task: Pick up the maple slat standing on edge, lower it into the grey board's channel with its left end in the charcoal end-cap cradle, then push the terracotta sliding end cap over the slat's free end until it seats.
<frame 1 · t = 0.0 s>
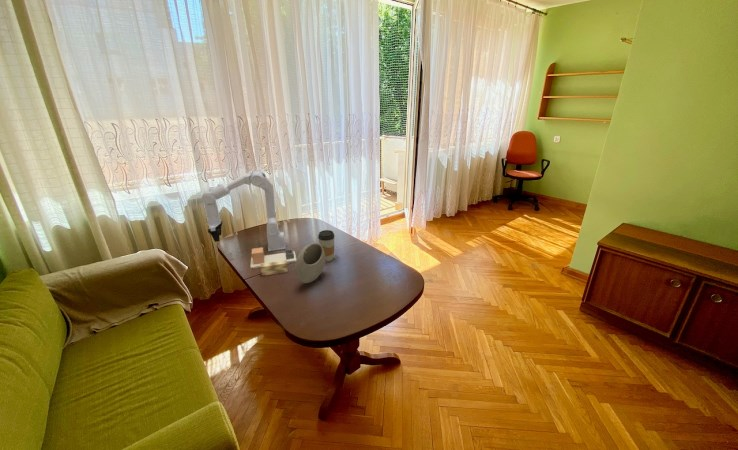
hand: (218, 238, 156), 10 cm above the table, fingers open, 7 cm apart
planter: (312, 280, 138), on the table
coffee cup: (327, 259, 157), on the table
sliding end cap: (258, 255, 151), point 4 cm above the table, slide at 5.0 cm
slat: (275, 272, 145), on the table
cap board: (276, 260, 155), on the table
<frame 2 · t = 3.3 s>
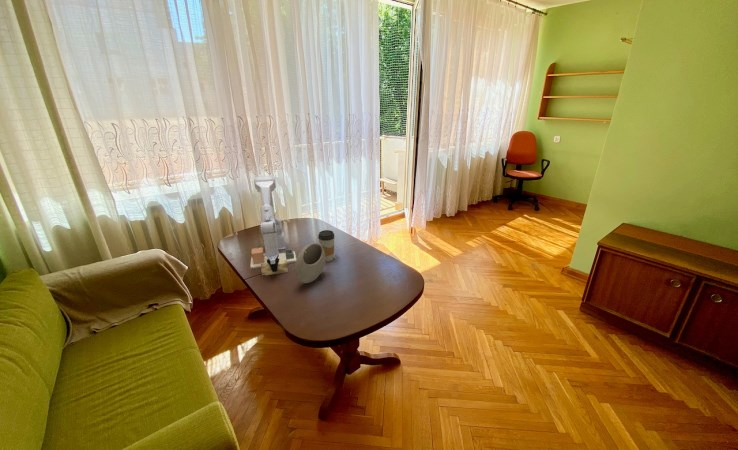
hand: (274, 269, 144), 1 cm above the table, fingers closed on slat, 3 cm apart
slat: (275, 272, 145), on the table, touching gripper
everything else where it was.
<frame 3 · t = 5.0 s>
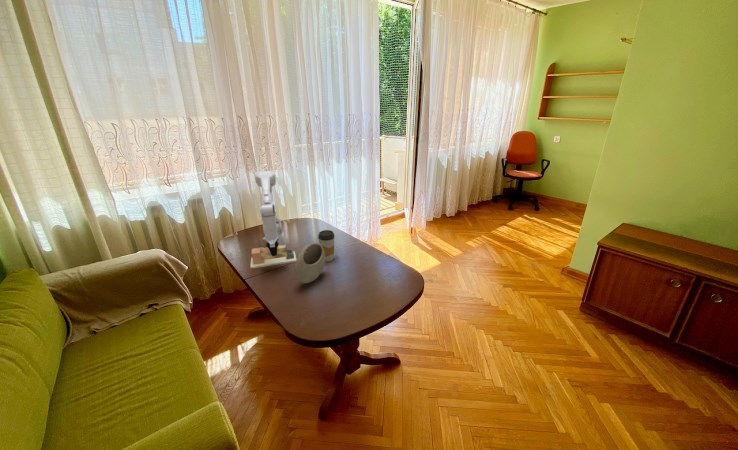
hand: (274, 253, 144), 8 cm above the table, fingers closed on slat, 3 cm apart
slat: (274, 256, 145), point 7 cm above the table, touching gripper
everything else where it was.
when the fingers open (4 cm above the table, at t = 6.7 s): slat stays where it is, resting on cap board.
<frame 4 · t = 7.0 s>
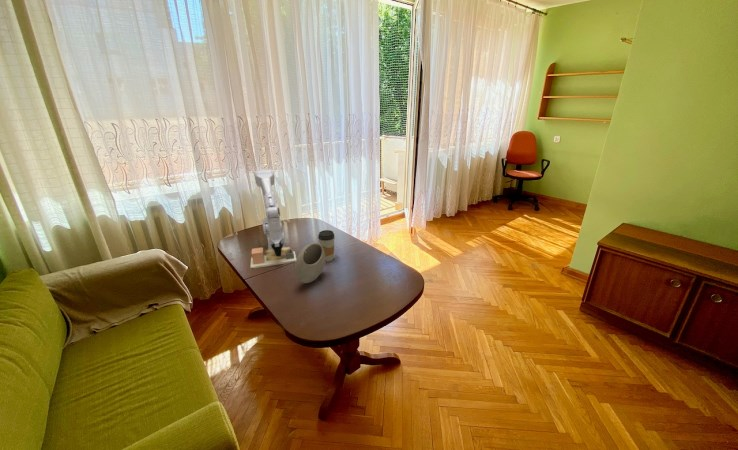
hand: (278, 253, 154), 4 cm above the table, fingers open, 6 cm apart
slat: (279, 258, 155), point 1 cm above the table, touching cap board
everything else where it was.
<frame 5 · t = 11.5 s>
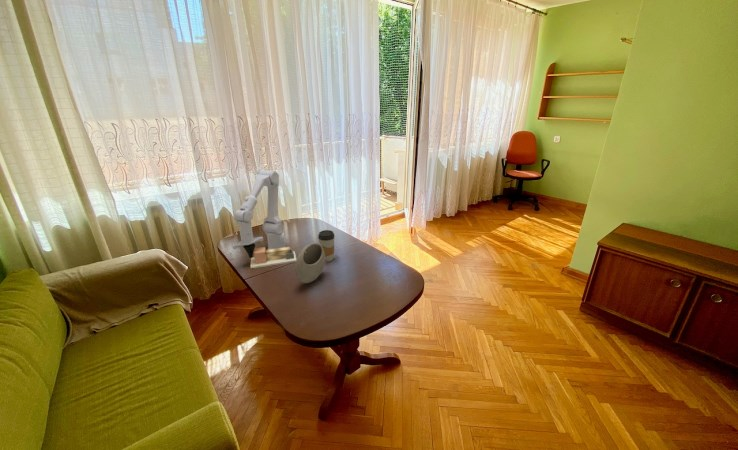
hand: (250, 257, 150), 4 cm above the table, fingers closed
sliding end cap: (260, 255, 152), point 4 cm above the table, slide at 3.9 cm, touching gripper
everything else where it was.
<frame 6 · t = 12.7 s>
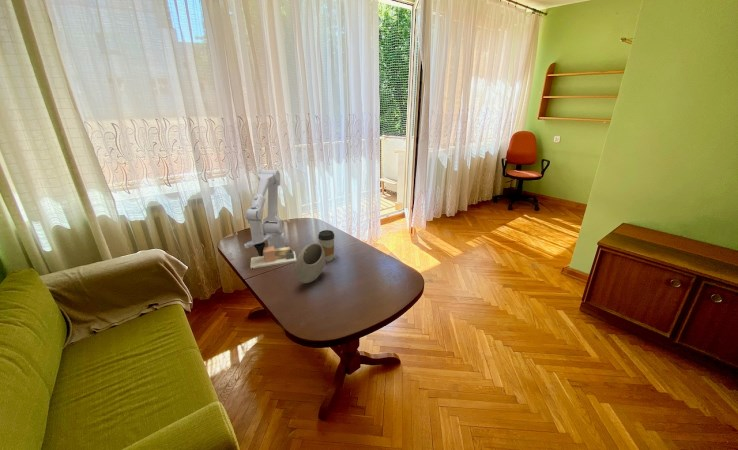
hand: (260, 255, 152), 4 cm above the table, fingers closed
sliding end cap: (269, 254, 153), point 4 cm above the table, slide at -0.6 cm, touching gripper
everything else where it was.
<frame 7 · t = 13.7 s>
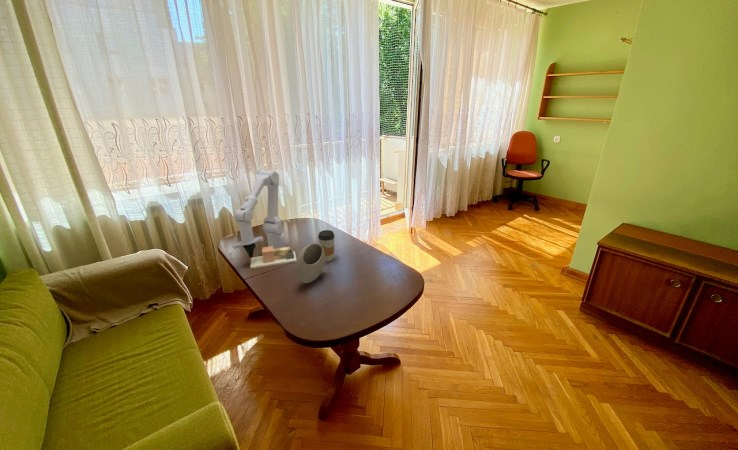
hand: (250, 257, 150), 4 cm above the table, fingers closed
sliding end cap: (268, 254, 153), point 4 cm above the table, slide at 0.0 cm
everything else where it was.
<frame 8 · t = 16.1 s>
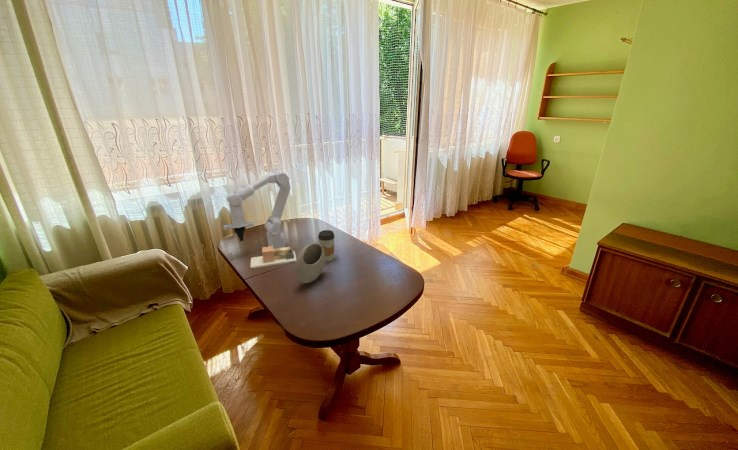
hand: (241, 240, 156), 9 cm above the table, fingers closed
nothing on the table moved.
at the end: sliding end cap slide at 0.0 cm; slat 0.1 cm from the target spot on the cap board, point 1.0 cm above the cap board's base; slat tilted 0° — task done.
